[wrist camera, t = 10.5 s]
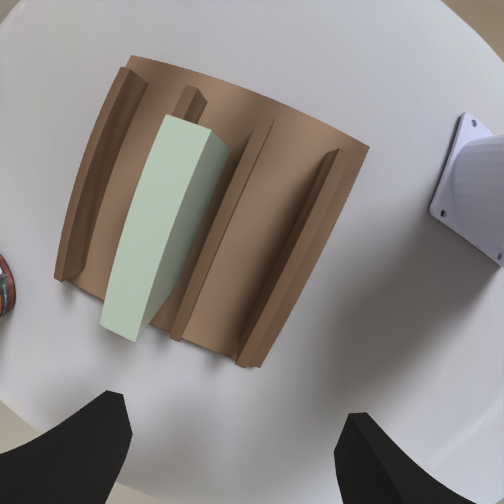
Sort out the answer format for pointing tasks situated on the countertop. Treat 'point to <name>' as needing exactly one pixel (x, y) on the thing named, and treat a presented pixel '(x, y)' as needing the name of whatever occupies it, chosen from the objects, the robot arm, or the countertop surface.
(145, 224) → the pale green flat block
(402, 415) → the countertop surface
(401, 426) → the countertop surface
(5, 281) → the supplement bottle
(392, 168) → the countertop surface
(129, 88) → the dish rack
